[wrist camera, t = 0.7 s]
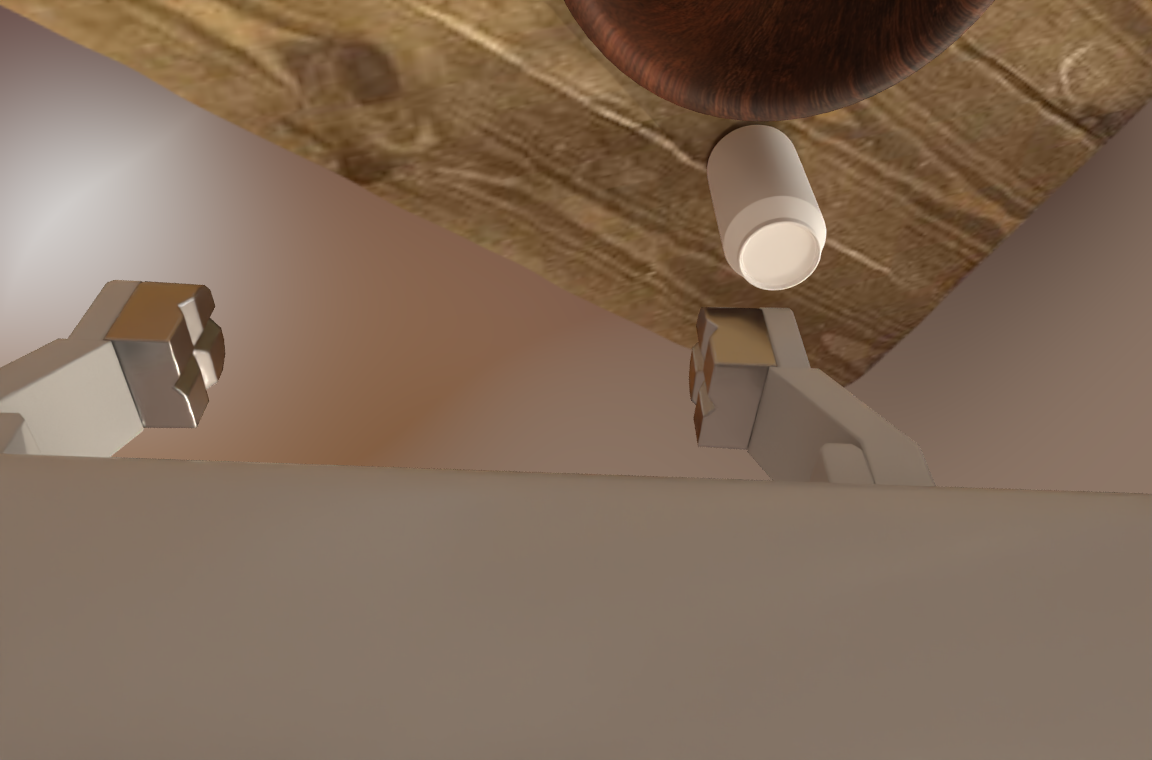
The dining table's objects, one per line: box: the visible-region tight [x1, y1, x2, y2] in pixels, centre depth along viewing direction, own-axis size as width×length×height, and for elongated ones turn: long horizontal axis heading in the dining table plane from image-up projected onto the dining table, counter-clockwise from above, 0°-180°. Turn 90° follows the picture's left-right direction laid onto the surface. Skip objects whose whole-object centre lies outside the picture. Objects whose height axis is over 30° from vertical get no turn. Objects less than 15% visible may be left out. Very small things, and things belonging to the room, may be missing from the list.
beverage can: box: [707, 125, 826, 290], centre depth 57 cm, size 6×6×12 cm
